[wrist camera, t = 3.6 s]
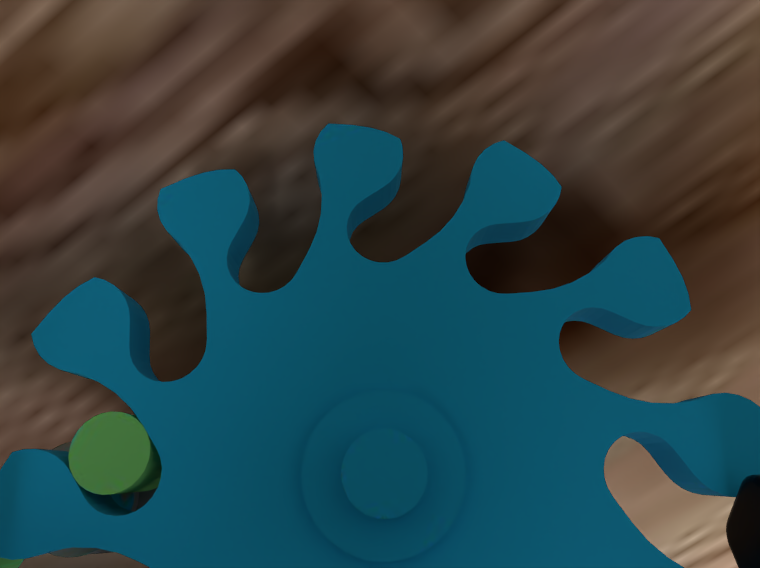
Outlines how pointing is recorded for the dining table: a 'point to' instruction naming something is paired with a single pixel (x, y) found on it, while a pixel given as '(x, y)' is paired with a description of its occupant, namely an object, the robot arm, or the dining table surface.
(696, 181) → the dining table surface
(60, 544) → the gear
